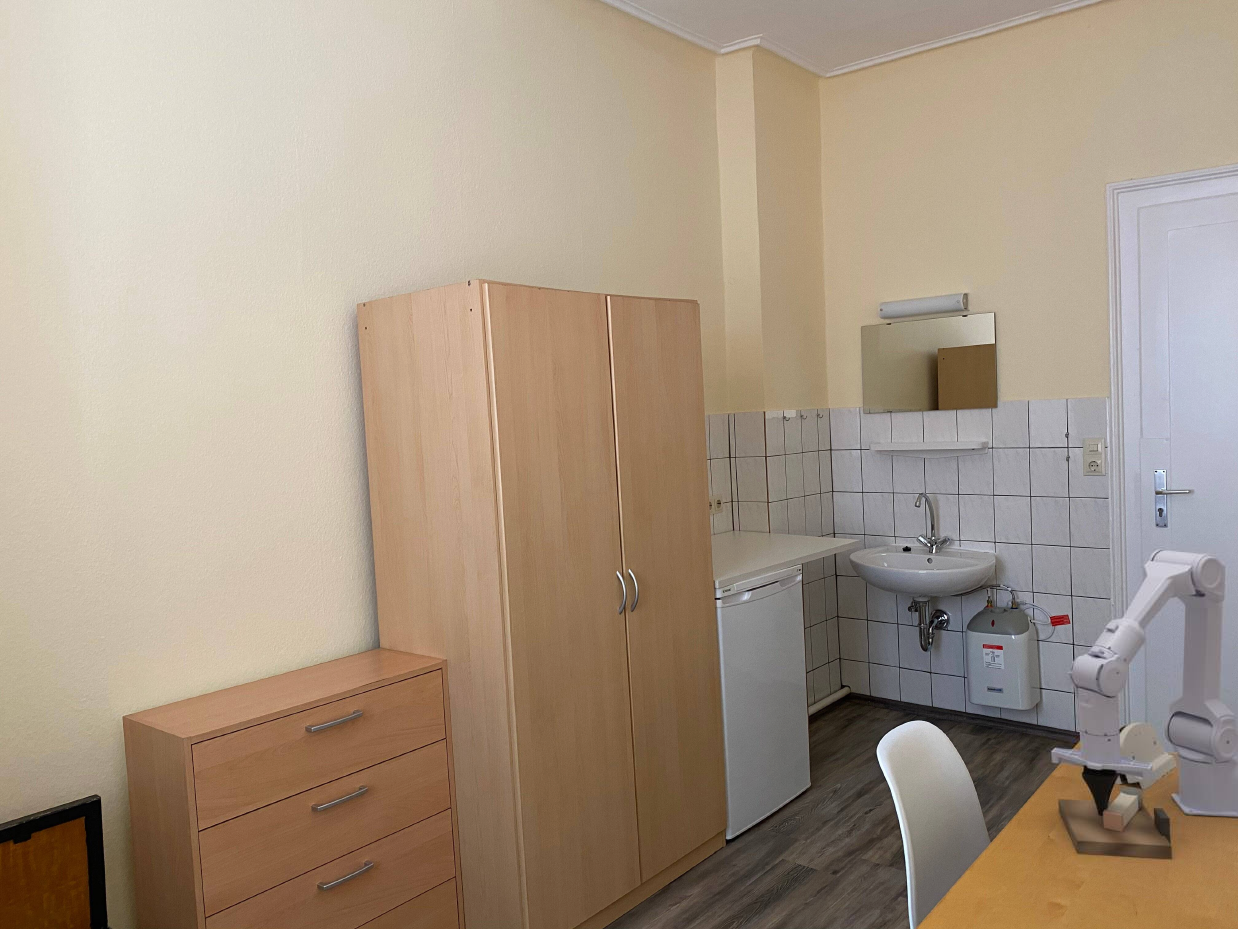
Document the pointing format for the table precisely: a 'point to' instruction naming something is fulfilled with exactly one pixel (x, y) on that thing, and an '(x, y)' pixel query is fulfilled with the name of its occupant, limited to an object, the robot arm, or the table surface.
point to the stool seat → (1133, 841)
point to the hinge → (1144, 752)
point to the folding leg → (1123, 808)
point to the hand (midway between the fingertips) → (1103, 814)
